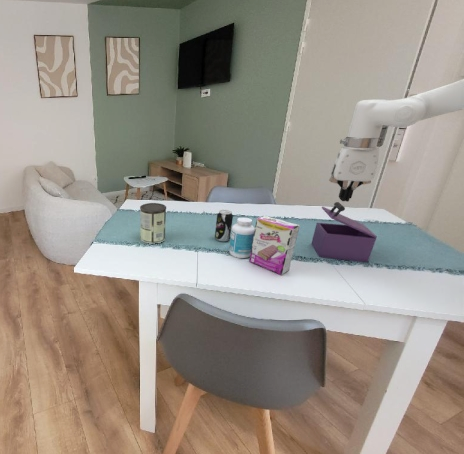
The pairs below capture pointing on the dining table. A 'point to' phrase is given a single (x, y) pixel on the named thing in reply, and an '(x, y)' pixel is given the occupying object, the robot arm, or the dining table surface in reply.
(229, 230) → the beverage can
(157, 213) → the coffee can
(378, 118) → the robot arm
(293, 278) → the dining table surface
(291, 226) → the candy bar box
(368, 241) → the box
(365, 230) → the lid
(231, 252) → the pill bottle
